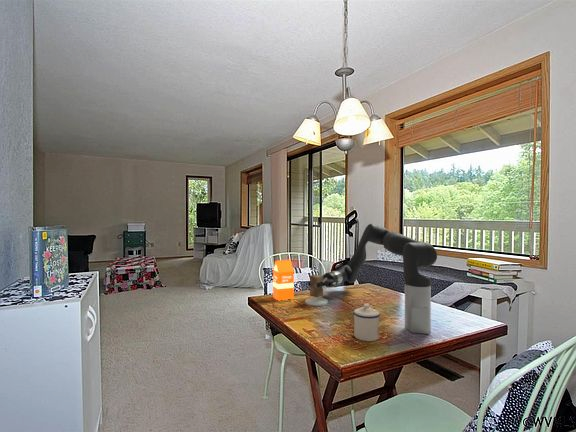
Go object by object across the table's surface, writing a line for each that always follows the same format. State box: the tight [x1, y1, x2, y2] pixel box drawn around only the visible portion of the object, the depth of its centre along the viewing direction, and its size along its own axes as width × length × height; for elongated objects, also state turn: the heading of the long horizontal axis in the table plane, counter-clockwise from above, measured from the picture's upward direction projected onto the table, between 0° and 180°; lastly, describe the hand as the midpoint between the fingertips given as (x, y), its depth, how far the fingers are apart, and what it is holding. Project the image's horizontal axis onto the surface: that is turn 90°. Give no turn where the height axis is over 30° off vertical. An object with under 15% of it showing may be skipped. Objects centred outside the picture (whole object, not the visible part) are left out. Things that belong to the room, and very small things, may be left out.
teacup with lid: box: [353, 303, 381, 342], centre depth 114 cm, size 12×9×12 cm
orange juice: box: [272, 259, 295, 302], centre depth 165 cm, size 8×9×20 cm
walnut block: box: [309, 273, 324, 298], centre depth 156 cm, size 4×4×10 cm
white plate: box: [305, 296, 329, 307], centre depth 156 cm, size 11×11×1 cm
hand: (313, 284), depth 154 cm, fingers closed on walnut block, 4 cm apart
